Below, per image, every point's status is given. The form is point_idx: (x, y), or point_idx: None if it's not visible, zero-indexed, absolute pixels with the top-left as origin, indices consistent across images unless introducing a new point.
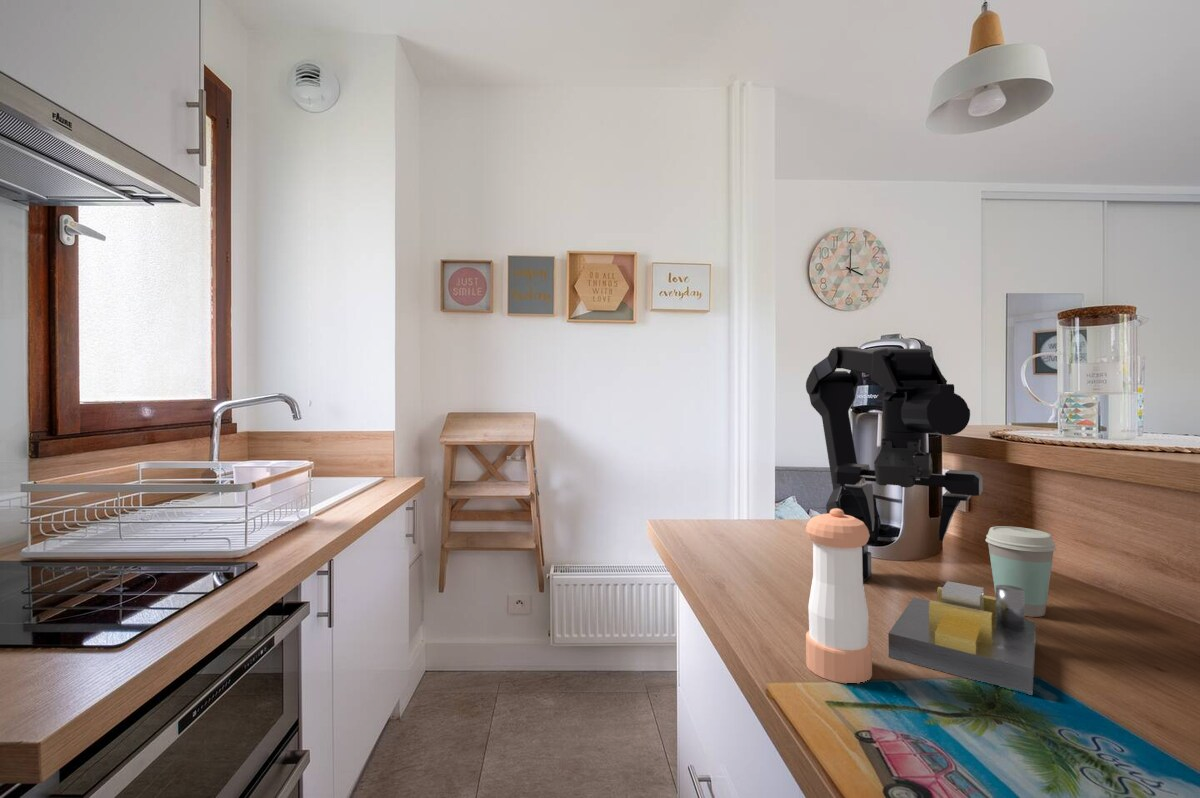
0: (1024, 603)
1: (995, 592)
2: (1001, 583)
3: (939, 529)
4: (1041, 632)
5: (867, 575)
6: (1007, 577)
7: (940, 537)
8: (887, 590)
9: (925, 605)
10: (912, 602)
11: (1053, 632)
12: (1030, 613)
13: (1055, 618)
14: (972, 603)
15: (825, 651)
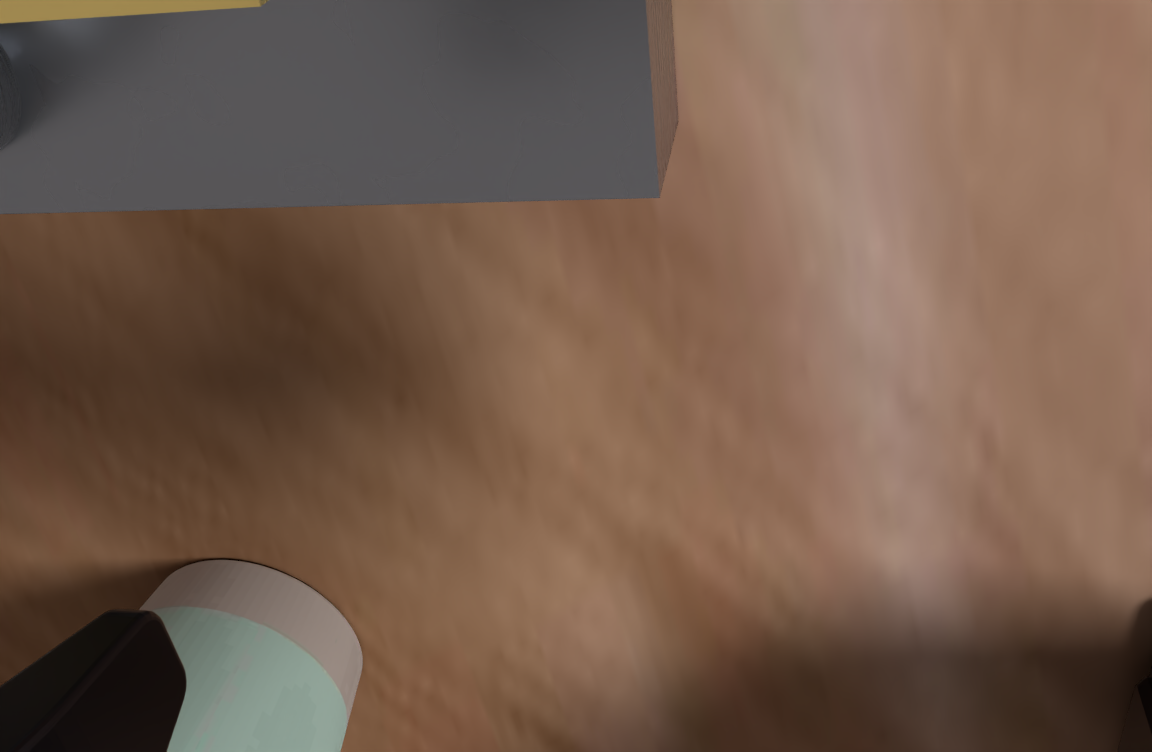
0: (169, 610)
1: (328, 688)
2: (241, 709)
3: (16, 745)
4: (57, 376)
5: (1144, 695)
6: (173, 734)
7: (100, 641)
8: (965, 566)
9: (510, 34)
10: (627, 40)
11: (26, 412)
12: (175, 576)
13: (111, 603)
14: None
15: None
